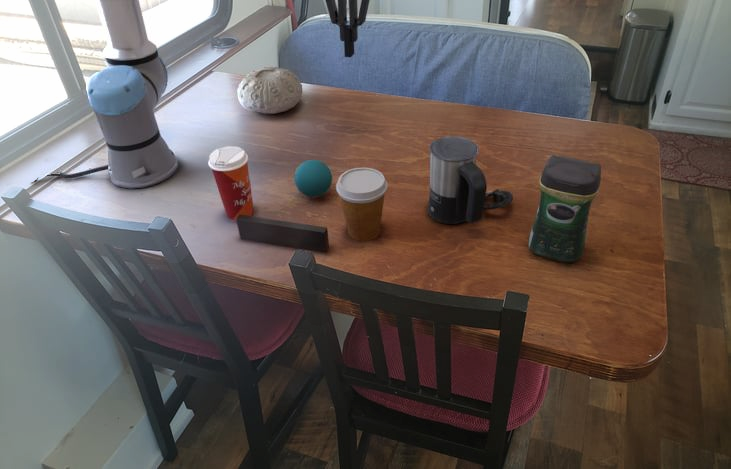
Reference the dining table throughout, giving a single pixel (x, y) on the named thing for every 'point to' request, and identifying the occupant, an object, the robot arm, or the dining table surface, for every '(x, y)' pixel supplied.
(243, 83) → the decorative shell
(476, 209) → the milk frother
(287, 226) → the block
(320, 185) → the ball
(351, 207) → the disposable coffee cup
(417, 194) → the dining table surface
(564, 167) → the coffee jar
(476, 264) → the dining table surface
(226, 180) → the paper cup
